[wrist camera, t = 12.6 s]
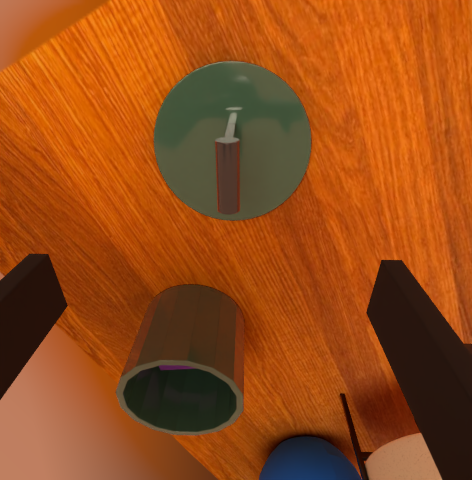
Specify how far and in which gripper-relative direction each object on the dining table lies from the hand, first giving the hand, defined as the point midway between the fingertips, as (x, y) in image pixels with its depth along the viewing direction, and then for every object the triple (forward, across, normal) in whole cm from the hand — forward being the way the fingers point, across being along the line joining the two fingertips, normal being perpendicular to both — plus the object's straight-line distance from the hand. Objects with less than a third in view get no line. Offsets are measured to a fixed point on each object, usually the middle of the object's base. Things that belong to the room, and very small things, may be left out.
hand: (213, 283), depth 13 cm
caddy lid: (+18, 0, +1) cm, 18 cm away
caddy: (+18, -5, -21) cm, 28 cm away
